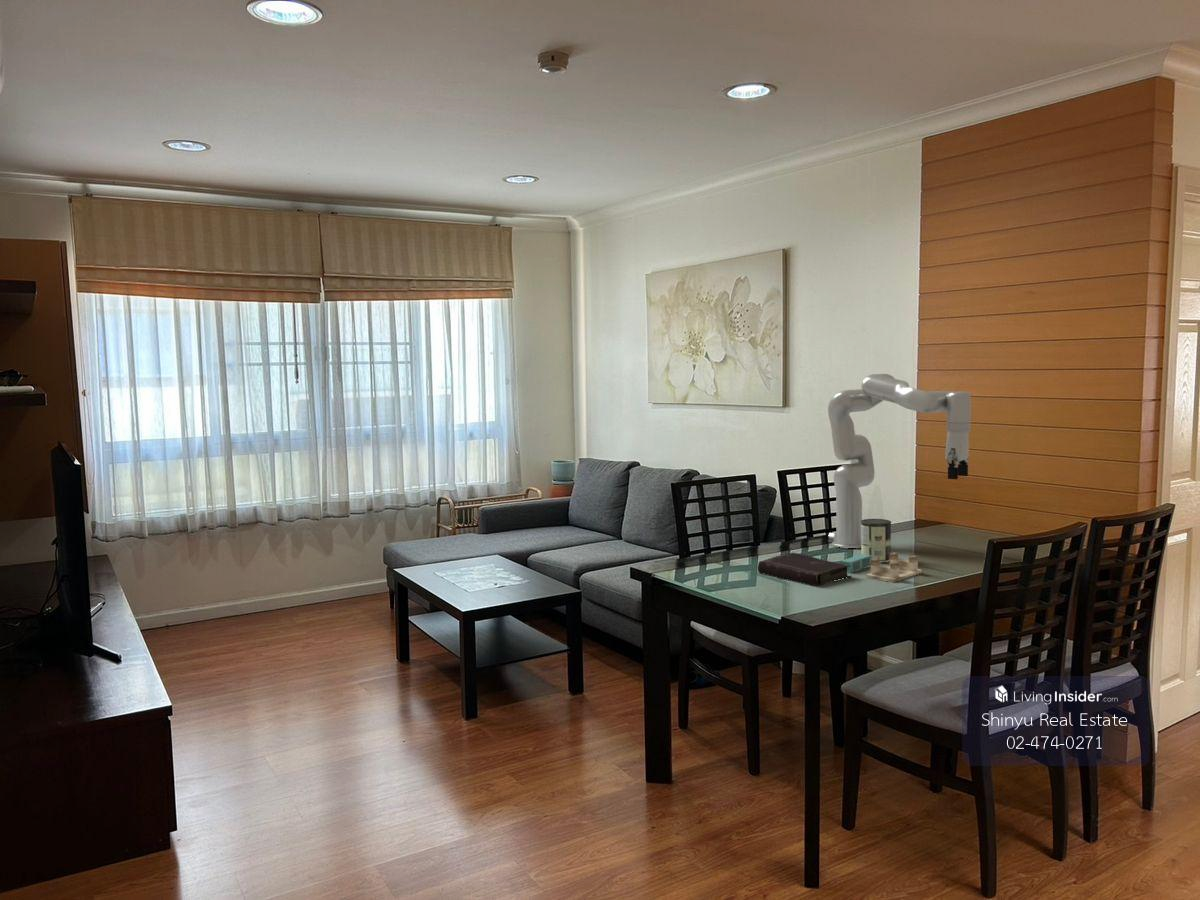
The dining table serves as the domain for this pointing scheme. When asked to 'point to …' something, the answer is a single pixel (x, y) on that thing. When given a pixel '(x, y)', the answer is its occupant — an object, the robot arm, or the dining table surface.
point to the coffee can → (876, 538)
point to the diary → (803, 569)
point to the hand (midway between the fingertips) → (957, 477)
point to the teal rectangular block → (857, 562)
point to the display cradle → (894, 568)
